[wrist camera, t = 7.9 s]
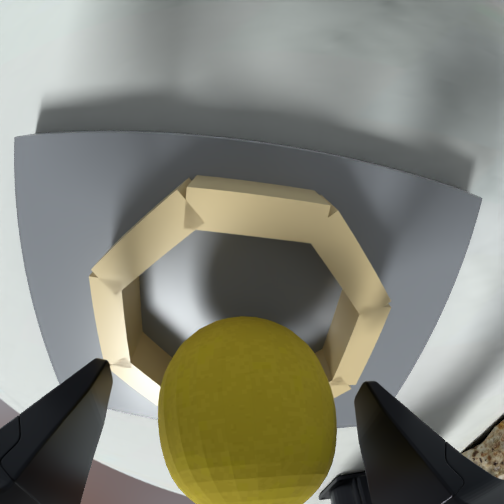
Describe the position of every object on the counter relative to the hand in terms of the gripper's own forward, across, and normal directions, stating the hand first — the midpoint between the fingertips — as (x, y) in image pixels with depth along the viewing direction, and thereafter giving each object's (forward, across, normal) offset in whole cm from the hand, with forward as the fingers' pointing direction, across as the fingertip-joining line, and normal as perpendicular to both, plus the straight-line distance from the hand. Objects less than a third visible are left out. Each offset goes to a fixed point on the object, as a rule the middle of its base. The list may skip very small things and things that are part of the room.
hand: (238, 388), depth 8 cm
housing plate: (+6, 0, +1) cm, 6 cm away
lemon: (+4, 0, 0) cm, 4 cm away
